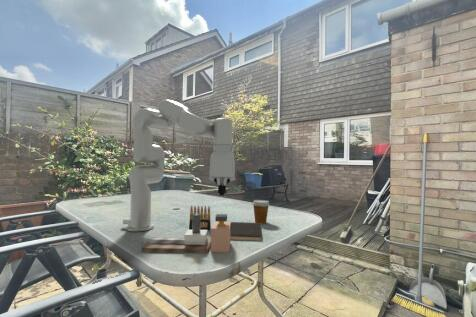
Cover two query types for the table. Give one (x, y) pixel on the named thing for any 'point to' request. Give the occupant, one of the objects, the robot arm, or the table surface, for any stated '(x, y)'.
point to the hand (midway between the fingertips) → (221, 195)
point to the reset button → (221, 219)
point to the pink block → (220, 237)
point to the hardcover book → (245, 231)
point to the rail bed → (174, 246)
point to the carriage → (195, 233)
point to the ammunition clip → (206, 219)
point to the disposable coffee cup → (260, 210)
